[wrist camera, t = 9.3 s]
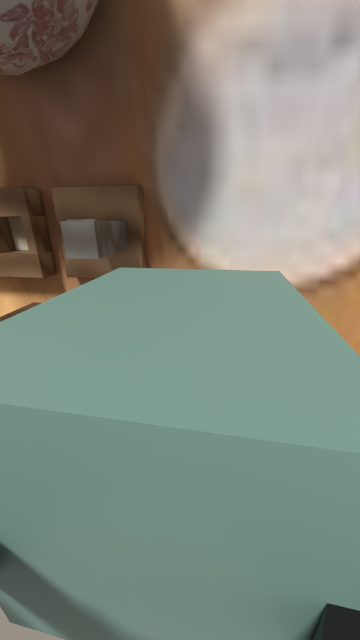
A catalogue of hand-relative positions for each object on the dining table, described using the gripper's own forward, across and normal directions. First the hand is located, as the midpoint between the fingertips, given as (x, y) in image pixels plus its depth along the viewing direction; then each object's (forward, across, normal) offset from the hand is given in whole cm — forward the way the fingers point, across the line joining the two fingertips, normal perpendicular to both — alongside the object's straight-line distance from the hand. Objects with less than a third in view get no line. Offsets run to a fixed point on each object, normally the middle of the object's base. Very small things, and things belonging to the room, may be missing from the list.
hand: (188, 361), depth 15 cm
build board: (+20, +29, -6) cm, 36 cm away
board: (+20, +14, -6) cm, 25 cm away
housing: (+2, 0, 0) cm, 2 cm away
